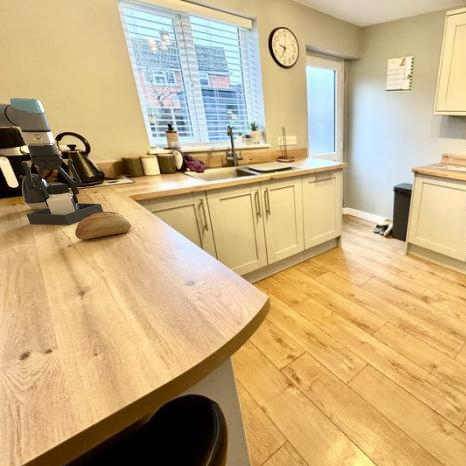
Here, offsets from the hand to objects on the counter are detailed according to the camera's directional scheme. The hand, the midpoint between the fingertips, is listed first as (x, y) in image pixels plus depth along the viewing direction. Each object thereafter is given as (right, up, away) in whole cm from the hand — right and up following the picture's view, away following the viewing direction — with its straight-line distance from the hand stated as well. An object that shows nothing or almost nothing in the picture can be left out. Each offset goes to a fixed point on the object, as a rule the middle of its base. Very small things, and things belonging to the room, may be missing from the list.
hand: (63, 204), depth 114 cm
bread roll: (+29, -13, -14) cm, 35 cm away
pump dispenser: (-23, 0, +15) cm, 27 cm away
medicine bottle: (0, -4, +2) cm, 4 cm away
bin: (0, -6, +2) cm, 6 cm away
